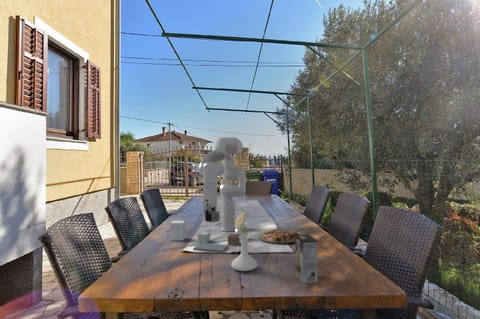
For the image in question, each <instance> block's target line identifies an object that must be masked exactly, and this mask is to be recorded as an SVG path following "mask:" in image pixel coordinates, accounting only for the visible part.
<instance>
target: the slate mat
mask: <svg viewBox="0 0 480 319" xmlns="http://www.w3.org/2000/svg"><path fill="white" fill-rule="evenodd" d="M228 247H229V245H228V244H215V243H199V244H197V245H195V246H194V247H193V251H200V252H201V251H203V252H211V253H224V252H225V250H227V249H228Z"/></svg>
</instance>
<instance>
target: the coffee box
mask: <svg viewBox="0 0 480 319" xmlns="http://www.w3.org/2000/svg"><path fill="white" fill-rule="evenodd" d="M294 244H295V247H294V248H295V274H296V276H297V278H298V279H299V280H300V282H301V283H302V284H306V283H307V284H309V283H310V284H311V283H318V278H319V277H318V276H319V274H318V272H319V271H318V267H319V266H318V265H319V264H318V262H319V261H318V259H319V258H318V257H319V254H318V249H319V247H318V244H319V243H318V239H316V238H315V237H314V236H313V235H311V234H305V233H303V234H298V235H295V242H294Z"/></svg>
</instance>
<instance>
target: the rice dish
mask: <svg viewBox="0 0 480 319" xmlns="http://www.w3.org/2000/svg"><path fill="white" fill-rule="evenodd" d="M298 234H304V233H302V232H300V231H295V230H282V229H281V228H276V229H272V230H270V231H266V232H265V231H264V232H262V233H260V234H259V235H257V237H258V239H259V240H261V241H264V242H268V243H277V244H288V243H293V242H294V243H295V235H298Z"/></svg>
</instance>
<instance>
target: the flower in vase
mask: <svg viewBox="0 0 480 319" xmlns="http://www.w3.org/2000/svg"><path fill="white" fill-rule="evenodd" d="M246 218H247V214H246V212H244V211H241V212H240V213H239V214H238V215H237V216H236V219H235V226H234V227H236V228H235V229H238V228H241V232H243V233H244V235H240V236H238V237H239V238H240V244H241V251H240V252H241V253H240V254H239V255H238V256H236V258H235V259H233V261H231V264H230V265H231V268H232V269H234V270H236V271H239V272H249V271H253V270H255V269H257V267H258V262H257V261H256V260H255V258H253V257H252V256H251V255H250V254H248V253H249V252H248V241H249V240H250V237H251V236H250V235H248V230H247V227H246V224H245V221H246ZM243 227H244V229H243Z"/></svg>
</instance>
